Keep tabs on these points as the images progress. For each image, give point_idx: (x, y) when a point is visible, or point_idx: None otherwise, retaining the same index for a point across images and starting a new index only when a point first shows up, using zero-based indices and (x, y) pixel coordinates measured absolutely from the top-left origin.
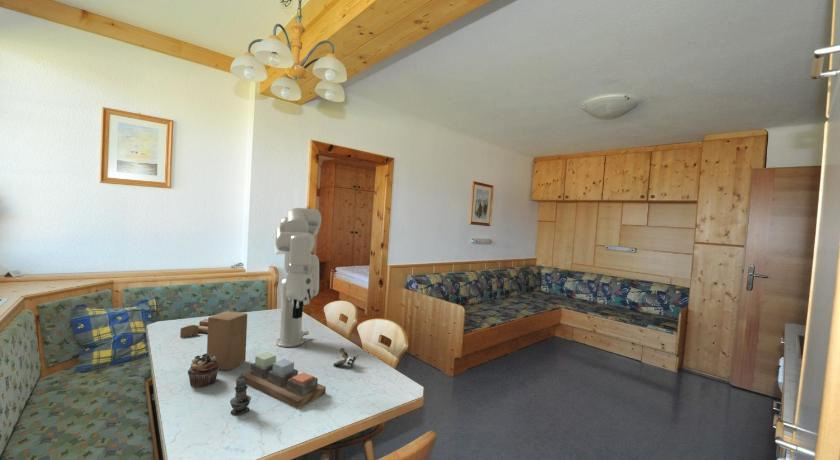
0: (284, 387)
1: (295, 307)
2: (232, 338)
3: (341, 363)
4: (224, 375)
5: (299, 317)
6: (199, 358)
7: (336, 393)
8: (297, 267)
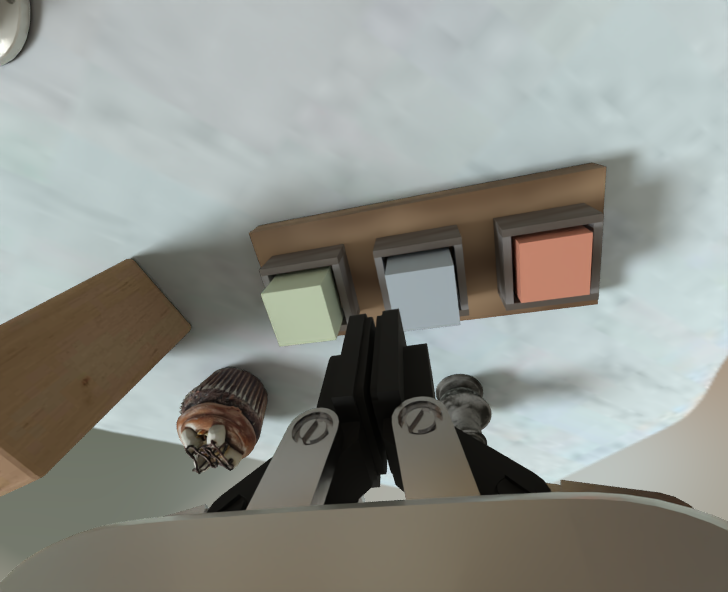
0: (473, 288)
1: (374, 466)
2: (106, 386)
3: None
4: (220, 343)
5: (405, 340)
6: (206, 462)
7: (632, 121)
8: None
